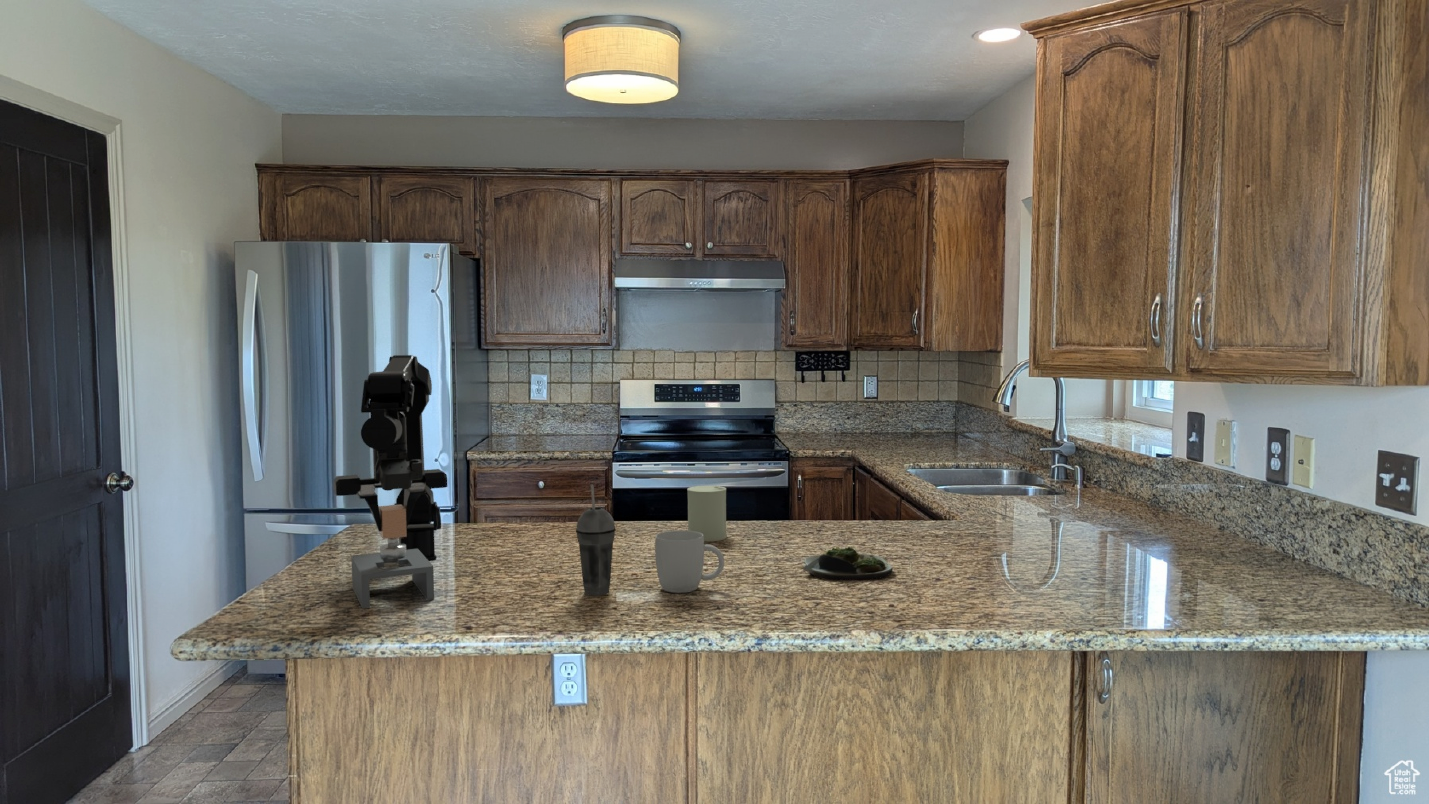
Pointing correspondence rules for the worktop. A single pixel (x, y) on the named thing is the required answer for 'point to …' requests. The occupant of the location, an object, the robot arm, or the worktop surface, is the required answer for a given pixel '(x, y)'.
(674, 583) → the mug
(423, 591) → the keyhole plate
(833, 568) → the salad plate
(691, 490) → the can
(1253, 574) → the worktop surface
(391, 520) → the brown and silver block
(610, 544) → the beverage cup
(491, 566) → the worktop surface
